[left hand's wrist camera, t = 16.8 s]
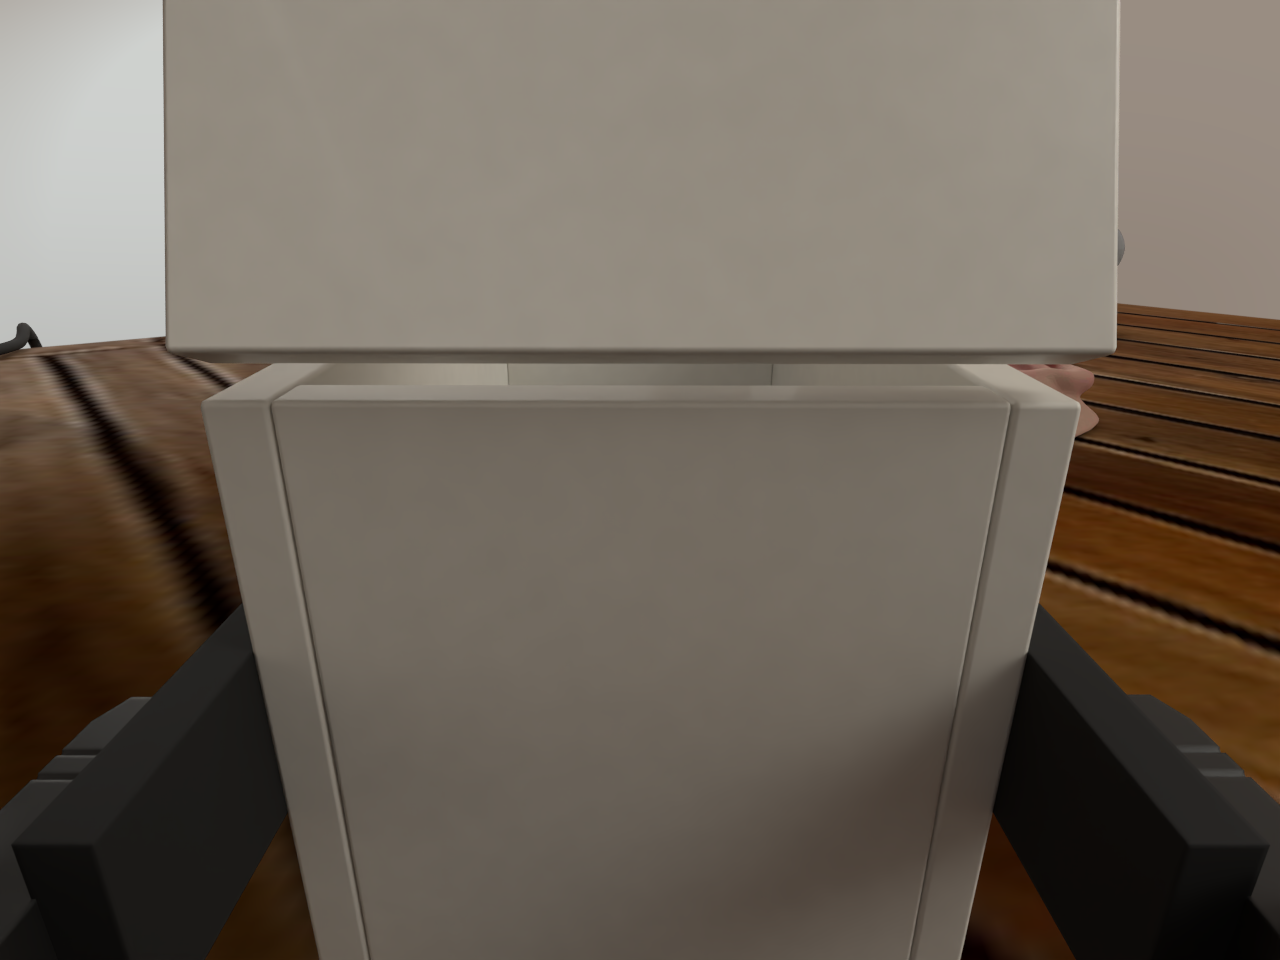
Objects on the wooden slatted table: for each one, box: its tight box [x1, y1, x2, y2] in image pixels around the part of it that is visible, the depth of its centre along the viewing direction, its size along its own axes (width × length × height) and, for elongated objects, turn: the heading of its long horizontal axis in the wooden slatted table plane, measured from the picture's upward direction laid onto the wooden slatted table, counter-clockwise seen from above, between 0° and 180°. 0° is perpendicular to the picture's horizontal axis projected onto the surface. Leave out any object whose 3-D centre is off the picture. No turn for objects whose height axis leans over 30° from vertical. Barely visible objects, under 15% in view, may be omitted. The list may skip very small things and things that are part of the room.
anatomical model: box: [1007, 364, 1099, 437], centre depth 48 cm, size 13×4×12 cm
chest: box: [201, 363, 1081, 960], centre depth 19 cm, size 17×10×11 cm, turn 0°
